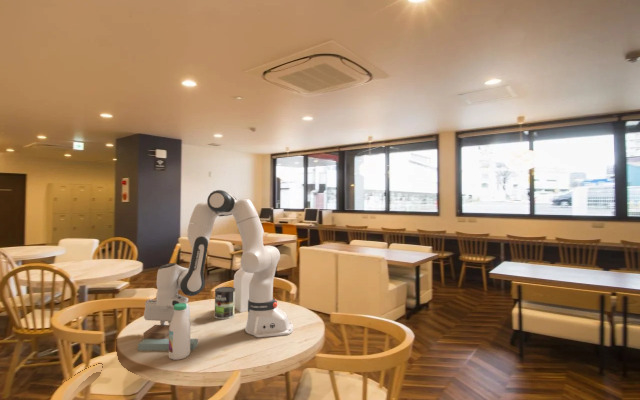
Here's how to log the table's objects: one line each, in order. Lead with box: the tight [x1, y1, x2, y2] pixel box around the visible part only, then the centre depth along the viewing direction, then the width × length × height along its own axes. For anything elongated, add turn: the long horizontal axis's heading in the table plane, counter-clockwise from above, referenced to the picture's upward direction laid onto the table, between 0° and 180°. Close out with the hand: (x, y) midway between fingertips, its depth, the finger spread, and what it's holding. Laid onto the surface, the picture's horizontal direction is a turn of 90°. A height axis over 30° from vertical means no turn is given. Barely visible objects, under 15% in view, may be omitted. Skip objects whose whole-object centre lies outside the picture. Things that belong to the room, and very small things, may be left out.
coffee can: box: [214, 286, 235, 320], centre depth 170 cm, size 10×10×14 cm
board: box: [137, 338, 199, 351], centre depth 132 cm, size 22×5×3 cm, turn 92°
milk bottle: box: [168, 303, 191, 361], centre depth 126 cm, size 8×8×20 cm
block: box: [142, 324, 170, 341], centre depth 140 cm, size 9×9×5 cm
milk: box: [233, 267, 254, 313], centre depth 183 cm, size 12×12×26 cm
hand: (166, 330), depth 146 cm, fingers closed
